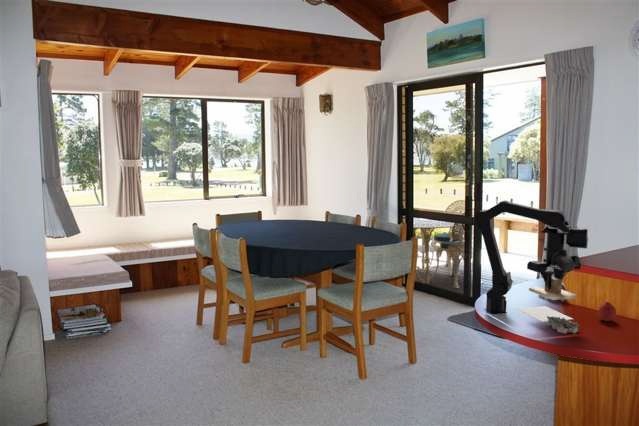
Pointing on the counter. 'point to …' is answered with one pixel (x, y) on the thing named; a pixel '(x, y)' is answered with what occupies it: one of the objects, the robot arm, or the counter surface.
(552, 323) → the grey jagged ring sculpture
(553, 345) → the counter surface
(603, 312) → the onion
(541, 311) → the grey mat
